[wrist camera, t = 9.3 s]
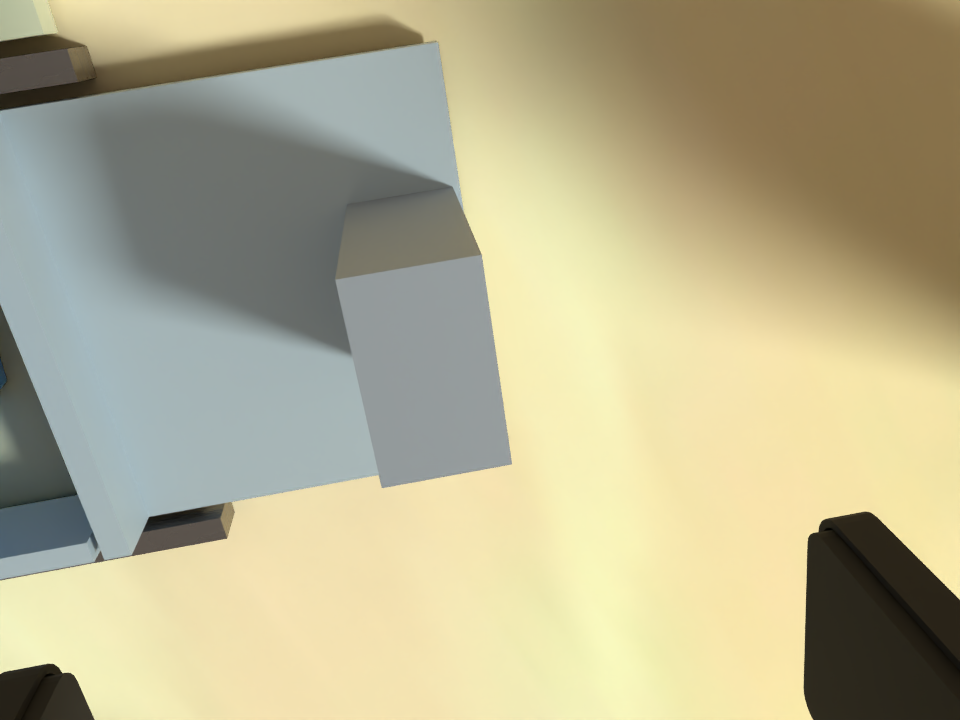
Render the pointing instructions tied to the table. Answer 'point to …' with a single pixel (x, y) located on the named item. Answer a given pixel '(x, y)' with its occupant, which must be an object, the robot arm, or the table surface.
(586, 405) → the table surface
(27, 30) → the strip
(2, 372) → the water bottle
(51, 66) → the lane rails
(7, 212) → the pale blue tray
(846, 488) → the table surface
